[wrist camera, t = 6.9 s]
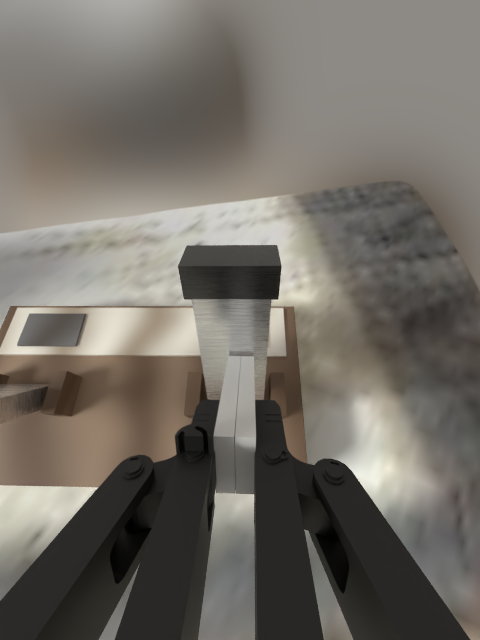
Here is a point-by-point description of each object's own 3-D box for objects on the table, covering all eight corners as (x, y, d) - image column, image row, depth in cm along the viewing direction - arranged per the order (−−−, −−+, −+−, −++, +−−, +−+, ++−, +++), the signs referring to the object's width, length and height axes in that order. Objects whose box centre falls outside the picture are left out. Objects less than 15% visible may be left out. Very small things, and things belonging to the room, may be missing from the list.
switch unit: (-6, 476, 23) (-103, 488, 16) (47, 328, 29) (-9, 295, 22) (296, 481, 22) (316, 496, 16) (286, 328, 28) (297, 295, 22)
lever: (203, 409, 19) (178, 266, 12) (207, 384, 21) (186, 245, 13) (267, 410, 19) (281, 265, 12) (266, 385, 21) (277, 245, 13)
